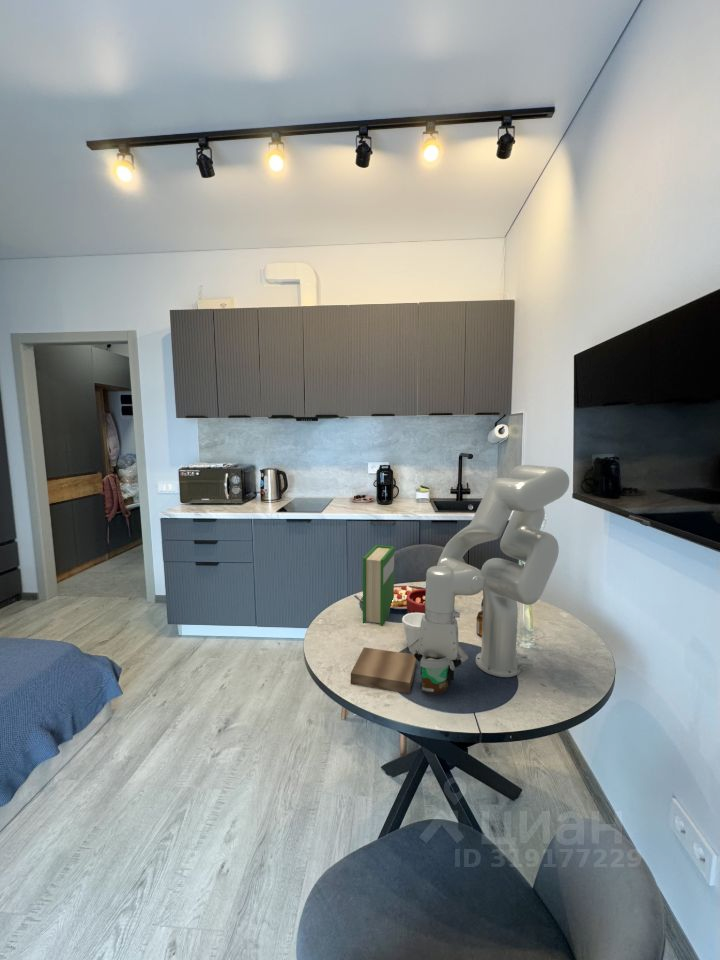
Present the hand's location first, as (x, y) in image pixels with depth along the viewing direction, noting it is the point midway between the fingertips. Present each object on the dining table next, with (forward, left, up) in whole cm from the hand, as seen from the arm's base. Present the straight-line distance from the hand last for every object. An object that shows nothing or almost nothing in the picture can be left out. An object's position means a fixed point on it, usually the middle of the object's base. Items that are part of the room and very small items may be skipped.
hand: (436, 678), depth 108 cm
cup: (+8, -19, -3) cm, 21 cm away
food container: (-1, 0, -3) cm, 3 cm away
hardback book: (+25, -39, -3) cm, 46 cm away
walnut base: (+15, -2, -2) cm, 15 cm away
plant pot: (+7, -32, -3) cm, 33 cm away
